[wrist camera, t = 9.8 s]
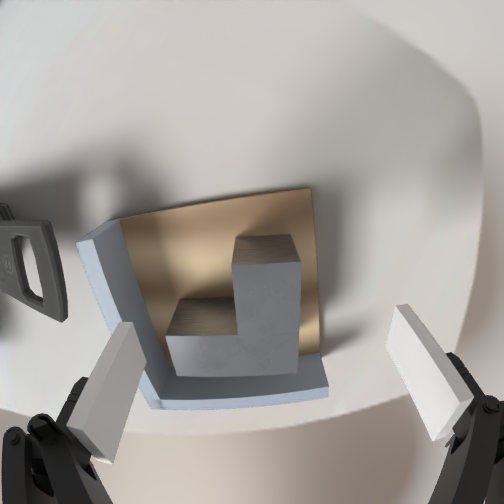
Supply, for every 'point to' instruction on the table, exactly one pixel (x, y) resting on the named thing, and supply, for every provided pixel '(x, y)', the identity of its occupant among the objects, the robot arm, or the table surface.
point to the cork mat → (218, 253)
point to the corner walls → (157, 368)
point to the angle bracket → (244, 316)
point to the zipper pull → (47, 259)
